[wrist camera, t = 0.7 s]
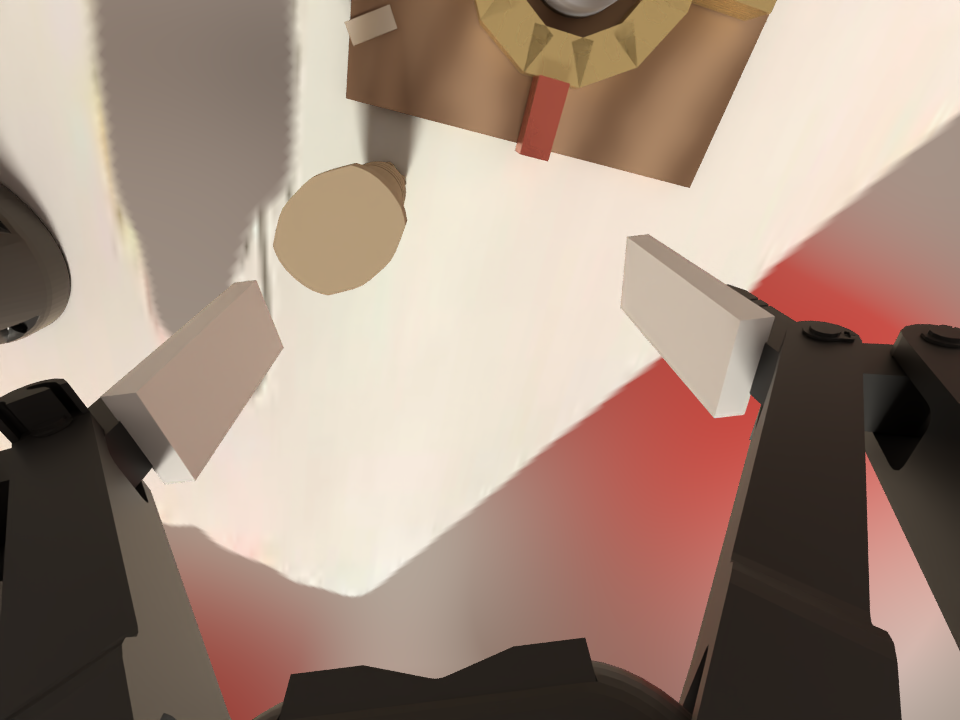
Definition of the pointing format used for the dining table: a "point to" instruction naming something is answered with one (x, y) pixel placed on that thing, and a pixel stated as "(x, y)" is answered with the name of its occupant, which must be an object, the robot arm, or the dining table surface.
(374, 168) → the handle
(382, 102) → the board
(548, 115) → the ring nut
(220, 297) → the robot arm
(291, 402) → the dining table surface
